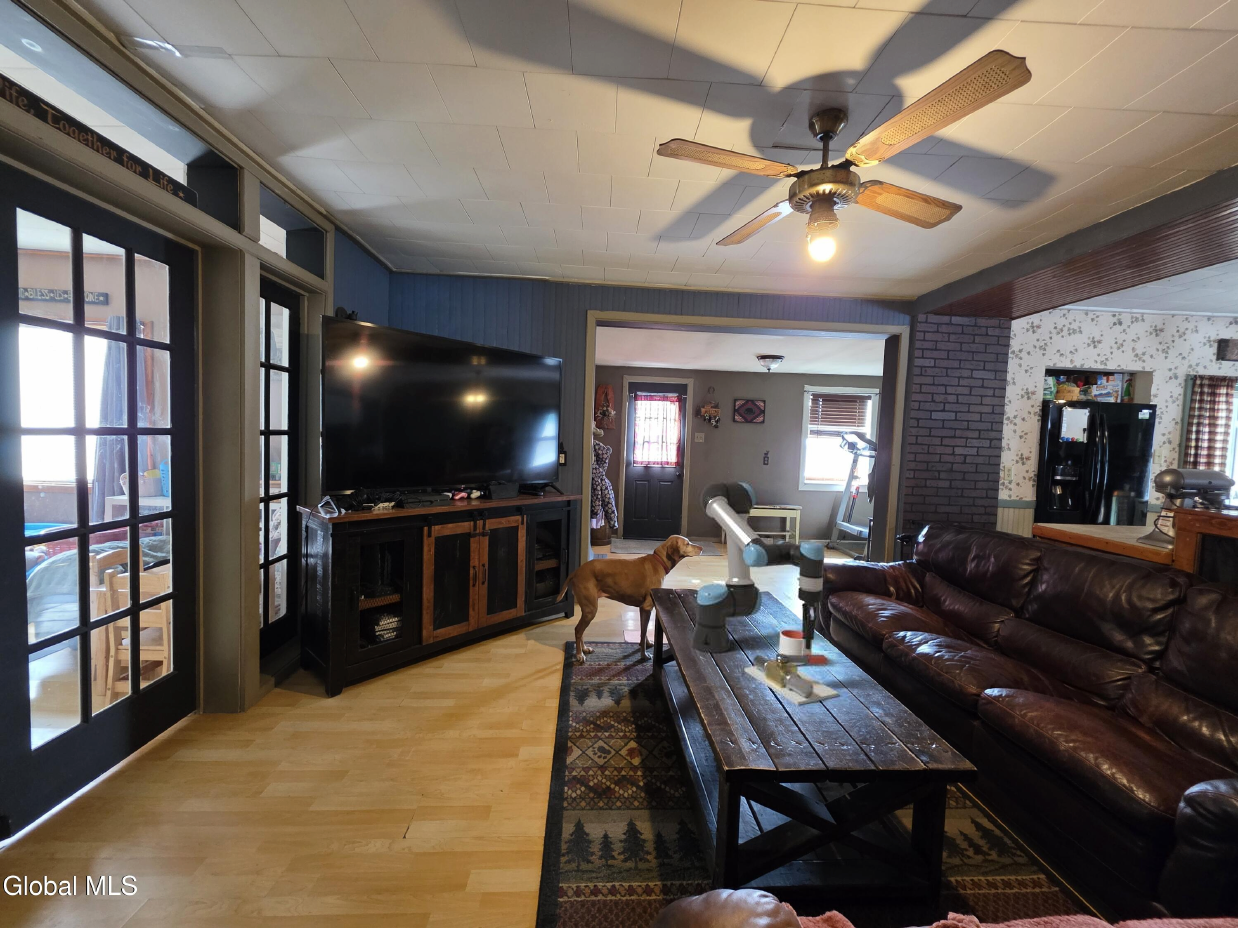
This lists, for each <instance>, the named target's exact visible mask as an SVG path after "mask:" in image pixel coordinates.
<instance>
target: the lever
mask: <svg viewBox="0 0 1238 928" xmlns="http://www.w3.org/2000/svg"><path fill="white" fill-rule="evenodd" d="M775 660H776V661H777V662H778V663H781V664H787V663H805V664H808V665H828V658H827V657H826V656H825V655H824V654H811V655H785V654H779V653H776V656H775Z"/></svg>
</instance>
